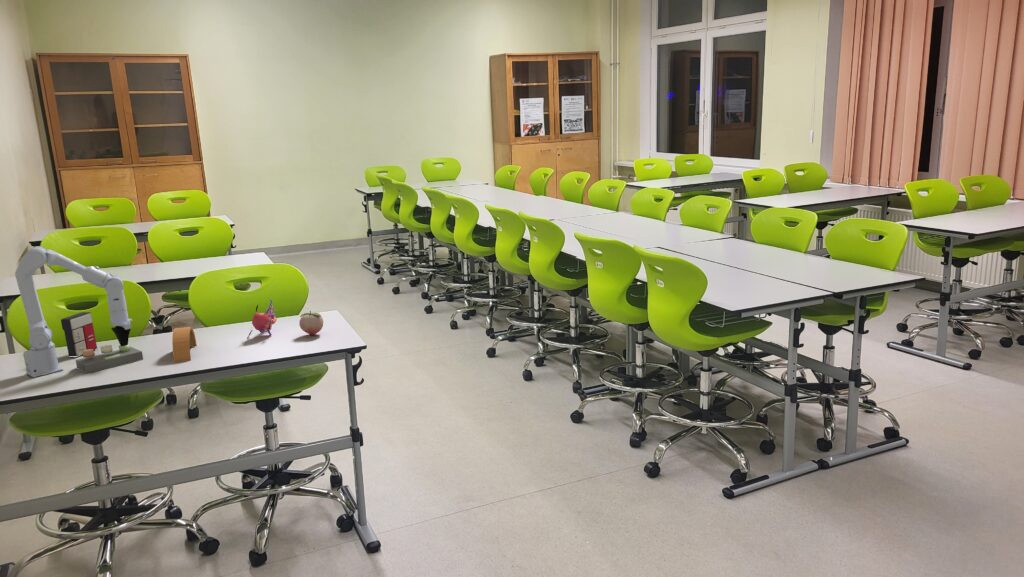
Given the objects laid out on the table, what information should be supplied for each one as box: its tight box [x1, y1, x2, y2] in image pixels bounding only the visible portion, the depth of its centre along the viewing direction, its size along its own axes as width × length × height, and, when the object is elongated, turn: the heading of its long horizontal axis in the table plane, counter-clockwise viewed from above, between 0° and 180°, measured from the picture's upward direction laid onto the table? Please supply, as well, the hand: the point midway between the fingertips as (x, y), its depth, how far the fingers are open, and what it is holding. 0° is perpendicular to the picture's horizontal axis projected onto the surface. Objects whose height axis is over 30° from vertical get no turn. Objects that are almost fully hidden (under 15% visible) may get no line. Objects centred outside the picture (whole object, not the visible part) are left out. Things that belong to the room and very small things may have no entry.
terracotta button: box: [82, 349, 96, 358], centre depth 262 cm, size 4×4×2 cm
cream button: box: [100, 344, 114, 354], centre depth 266 cm, size 4×4×2 cm
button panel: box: [75, 346, 144, 374], centre depth 266 cm, size 19×10×3 cm, turn 137°
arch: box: [171, 326, 197, 363], centre depth 273 cm, size 6×20×10 cm, turn 17°
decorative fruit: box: [299, 310, 324, 336], centre depth 290 cm, size 9×8×10 cm
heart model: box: [246, 298, 278, 339], centre depth 293 cm, size 17×10×20 cm
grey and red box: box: [60, 311, 98, 357], centre depth 279 cm, size 11×4×15 cm, turn 168°
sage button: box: [118, 343, 131, 352], centre depth 270 cm, size 4×4×2 cm
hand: (124, 345), depth 270 cm, fingers closed, pressing on sage button
